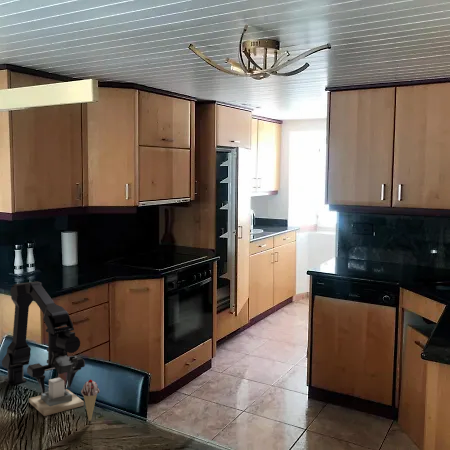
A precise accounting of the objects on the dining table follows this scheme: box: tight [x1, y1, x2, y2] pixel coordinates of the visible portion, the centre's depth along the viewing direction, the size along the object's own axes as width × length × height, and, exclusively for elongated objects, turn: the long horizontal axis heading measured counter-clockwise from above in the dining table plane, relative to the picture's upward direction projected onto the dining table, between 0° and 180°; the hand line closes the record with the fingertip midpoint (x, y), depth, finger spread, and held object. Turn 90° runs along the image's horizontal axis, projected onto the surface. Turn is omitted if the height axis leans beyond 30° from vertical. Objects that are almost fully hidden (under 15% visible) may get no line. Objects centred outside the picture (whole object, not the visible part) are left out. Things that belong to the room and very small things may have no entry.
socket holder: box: [28, 388, 85, 417], centre depth 177 cm, size 14×14×4 cm
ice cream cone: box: [80, 379, 100, 425], centre depth 162 cm, size 6×6×15 cm
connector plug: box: [48, 377, 65, 399], centre depth 177 cm, size 4×4×7 cm
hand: (56, 390), depth 177 cm, fingers open, 9 cm apart
